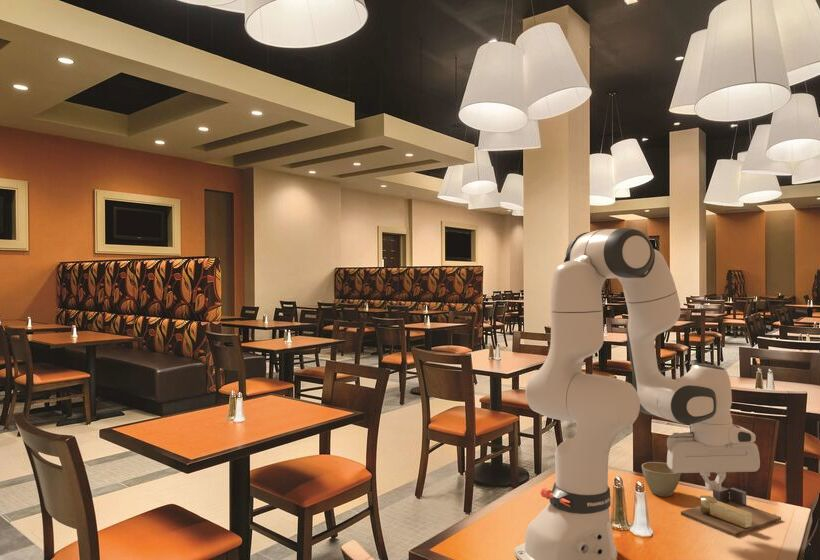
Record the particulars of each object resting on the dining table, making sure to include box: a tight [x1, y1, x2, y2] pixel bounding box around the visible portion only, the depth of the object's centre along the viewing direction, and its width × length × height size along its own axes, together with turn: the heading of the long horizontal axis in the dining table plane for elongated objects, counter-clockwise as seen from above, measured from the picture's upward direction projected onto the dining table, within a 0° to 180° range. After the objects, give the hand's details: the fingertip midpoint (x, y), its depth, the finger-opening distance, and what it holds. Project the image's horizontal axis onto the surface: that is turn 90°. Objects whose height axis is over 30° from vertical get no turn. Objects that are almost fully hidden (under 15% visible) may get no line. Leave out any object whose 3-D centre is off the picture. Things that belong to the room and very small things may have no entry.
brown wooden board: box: [680, 502, 782, 537], centre depth 136 cm, size 18×14×1 cm
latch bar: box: [699, 495, 752, 528], centre depth 134 cm, size 12×4×3 cm, turn 27°
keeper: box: [712, 486, 747, 506], centre depth 143 cm, size 6×5×3 cm
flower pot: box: [641, 461, 682, 497], centre depth 153 cm, size 10×10×7 cm
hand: (713, 489), depth 131 cm, fingers closed
